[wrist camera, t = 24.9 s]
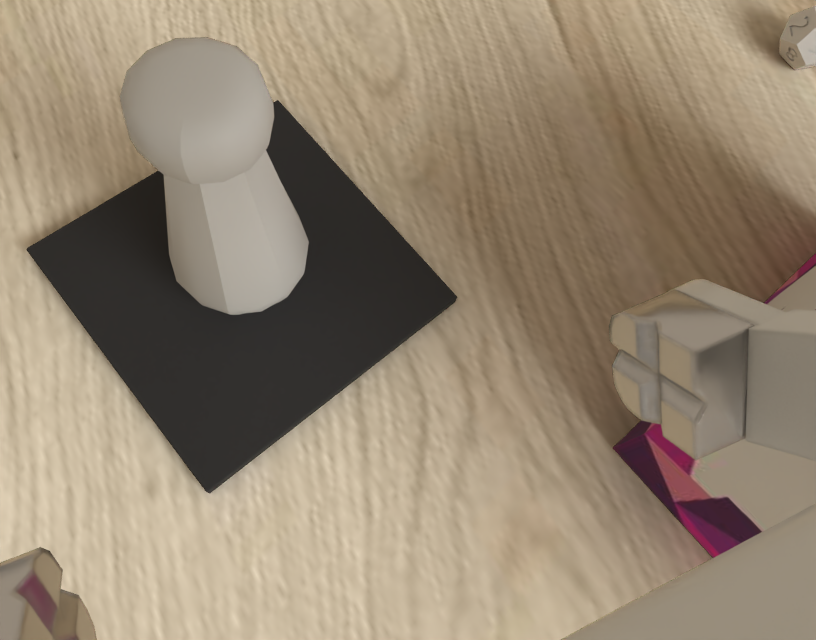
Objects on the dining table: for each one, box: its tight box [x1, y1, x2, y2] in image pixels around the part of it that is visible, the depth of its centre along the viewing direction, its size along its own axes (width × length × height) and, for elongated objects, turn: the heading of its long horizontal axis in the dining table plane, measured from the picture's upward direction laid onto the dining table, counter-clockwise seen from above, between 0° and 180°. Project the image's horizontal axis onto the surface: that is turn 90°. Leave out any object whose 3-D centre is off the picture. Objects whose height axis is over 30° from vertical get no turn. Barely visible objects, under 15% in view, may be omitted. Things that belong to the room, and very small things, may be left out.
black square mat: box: [27, 101, 457, 493], centre depth 31 cm, size 14×14×1 cm
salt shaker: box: [120, 37, 309, 315], centre depth 25 cm, size 6×6×13 cm
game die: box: [779, 6, 816, 70], centre depth 39 cm, size 4×4×3 cm
